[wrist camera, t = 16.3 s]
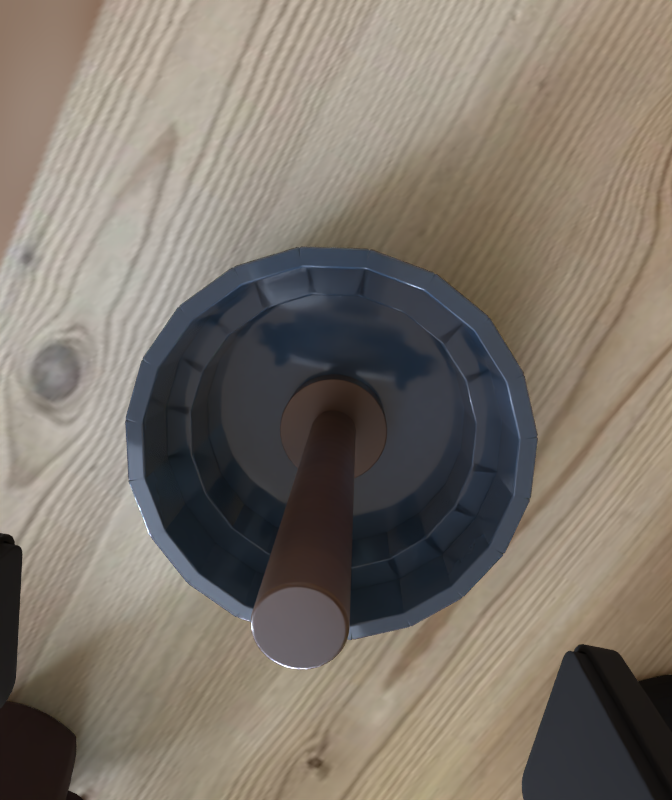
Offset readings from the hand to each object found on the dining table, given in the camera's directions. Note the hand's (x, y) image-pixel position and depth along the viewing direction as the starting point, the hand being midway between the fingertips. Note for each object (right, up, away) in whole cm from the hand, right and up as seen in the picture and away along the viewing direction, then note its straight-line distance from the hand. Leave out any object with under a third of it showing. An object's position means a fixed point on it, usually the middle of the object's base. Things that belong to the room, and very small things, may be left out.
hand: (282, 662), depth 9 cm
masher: (+1, +3, +17) cm, 17 cm away
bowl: (+1, +3, +17) cm, 18 cm away
